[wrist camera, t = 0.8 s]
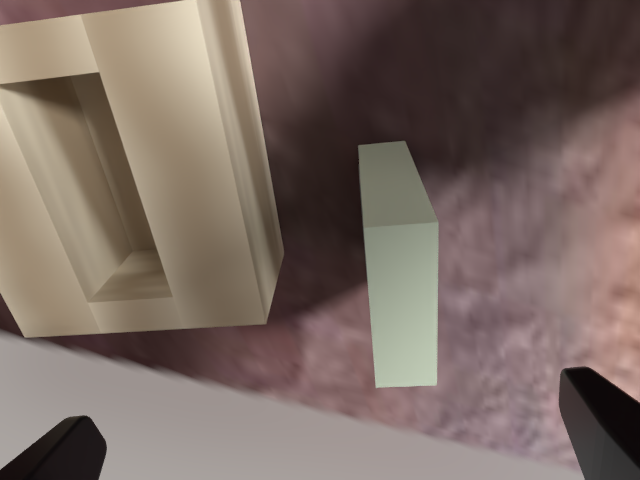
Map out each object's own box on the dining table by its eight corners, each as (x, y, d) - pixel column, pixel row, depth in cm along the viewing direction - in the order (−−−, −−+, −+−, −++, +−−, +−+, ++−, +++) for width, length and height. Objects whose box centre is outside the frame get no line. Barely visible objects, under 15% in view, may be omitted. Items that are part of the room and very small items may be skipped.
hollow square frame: (239, 0, 17) (195, -2, 12) (284, 252, 22) (265, 324, 17) (-3, 33, 18) (-135, 44, 13) (93, 266, 23) (25, 337, 18)
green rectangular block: (405, 140, 19) (440, 222, 12) (409, 261, 22) (438, 385, 15) (356, 145, 19) (361, 227, 12) (366, 264, 22) (374, 387, 15)
